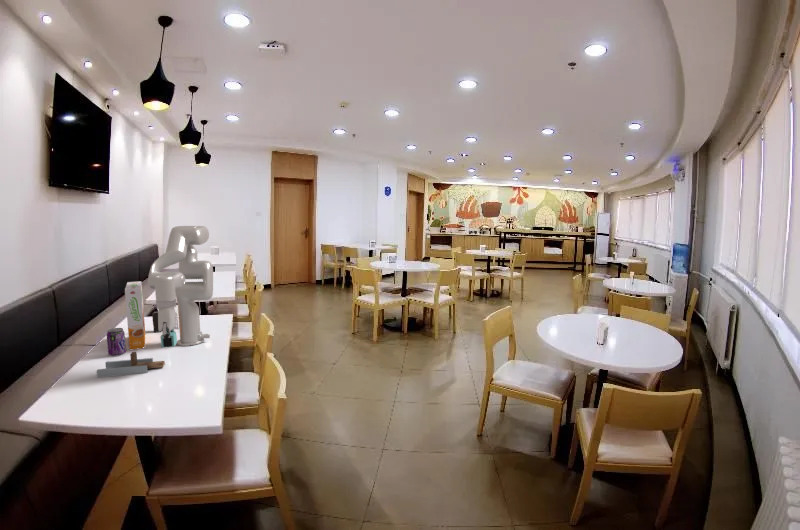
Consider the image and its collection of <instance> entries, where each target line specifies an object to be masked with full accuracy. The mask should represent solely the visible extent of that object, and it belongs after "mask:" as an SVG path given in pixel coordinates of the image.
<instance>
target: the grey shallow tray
mask: <svg viewBox="0 0 800 530" xmlns="http://www.w3.org/2000/svg"><path fill="white" fill-rule="evenodd" d="M144 362H154V357H148V358H137V363H144ZM138 373H139V374H147V373H148V369H147V365H142V366H131V359H122V360H111V361H109V360H108V361H105V368H98V369H97V370H96V376H97V378H103V377H105V376H106V377H113V376H115V377H116V376H124V375H125V376H126V375H127V374H128V375H137V374H138ZM106 377H105V378H106Z"/></svg>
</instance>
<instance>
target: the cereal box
mask: <svg viewBox="0 0 800 530" xmlns="http://www.w3.org/2000/svg"><path fill="white" fill-rule="evenodd" d="M124 295H125V296H124V298H125V306H126V319H127V331H128V333H127V334H128V344H129V345H128V346H129V350H130V349H133V350H138V349H137V348H140V349H144V348H143V347H146V337H145V335H146V324H145V323H146V322H145V313H144V312H145V311H144V297H143V285H142V281H139V280H138V281H127V283H126V285H125V288H124Z"/></svg>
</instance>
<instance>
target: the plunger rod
mask: <svg viewBox="0 0 800 530" xmlns="http://www.w3.org/2000/svg"><path fill="white" fill-rule="evenodd" d="M137 354H138V352H137V351H131V353H130V354H129V355H130V360H131V366H142V365H147V370H148V369H158V368H164V366H165V365H166V364H165V360H159V361H157V360H156V361H153V362H144V363H137V359H138V355H137Z"/></svg>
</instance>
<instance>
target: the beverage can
mask: <svg viewBox="0 0 800 530" xmlns="http://www.w3.org/2000/svg"><path fill="white" fill-rule="evenodd" d="M106 331H107V332H106V343H107V355H109V356H112V357H116V356H117V355H118V356H121V354H122V355H123V354H125V353H127V348H126V347H127V345H126V336H125V335H126V334H125V331H124V329H123V327H114V328H113V327H112V328H110V329H108V330H106ZM118 356H117V357H118Z"/></svg>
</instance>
